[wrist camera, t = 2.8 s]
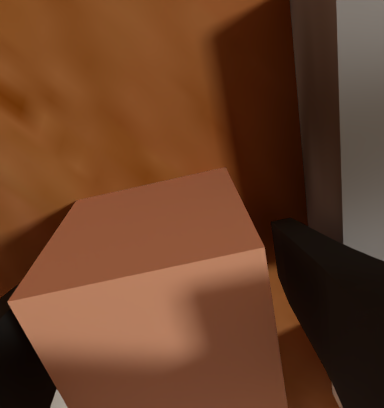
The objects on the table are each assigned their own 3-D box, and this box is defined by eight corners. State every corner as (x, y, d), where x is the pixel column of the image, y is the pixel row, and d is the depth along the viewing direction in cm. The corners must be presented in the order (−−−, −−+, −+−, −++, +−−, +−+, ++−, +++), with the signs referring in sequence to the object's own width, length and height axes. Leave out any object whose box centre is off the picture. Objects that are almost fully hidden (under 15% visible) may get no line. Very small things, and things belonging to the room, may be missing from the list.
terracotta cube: (247, 287, 13) (289, 416, 8) (122, 313, 13) (94, 453, 8) (225, 166, 11) (264, 247, 6) (76, 199, 11) (6, 302, 6)
